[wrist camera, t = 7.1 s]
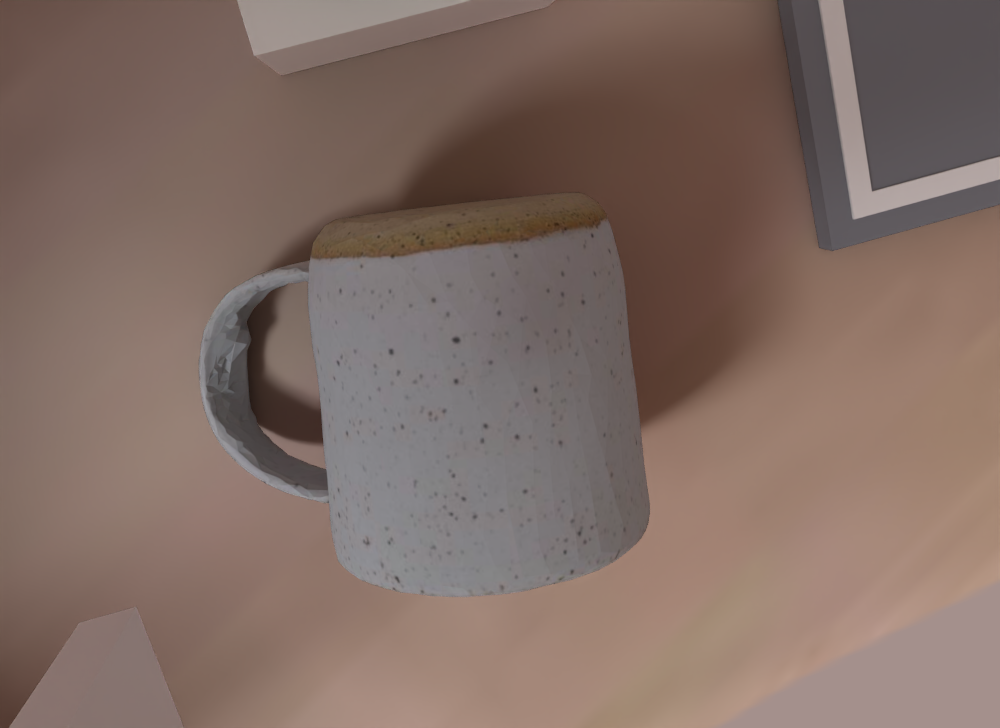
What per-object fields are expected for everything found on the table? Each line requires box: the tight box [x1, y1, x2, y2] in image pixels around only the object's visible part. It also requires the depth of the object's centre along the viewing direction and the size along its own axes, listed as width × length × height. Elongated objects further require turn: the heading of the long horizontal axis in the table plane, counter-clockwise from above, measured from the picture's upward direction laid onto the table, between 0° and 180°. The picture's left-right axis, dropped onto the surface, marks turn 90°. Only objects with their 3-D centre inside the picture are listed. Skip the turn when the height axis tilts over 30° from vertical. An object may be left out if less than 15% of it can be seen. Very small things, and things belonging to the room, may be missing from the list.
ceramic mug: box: [199, 192, 650, 597], centre depth 22 cm, size 11×8×8 cm
